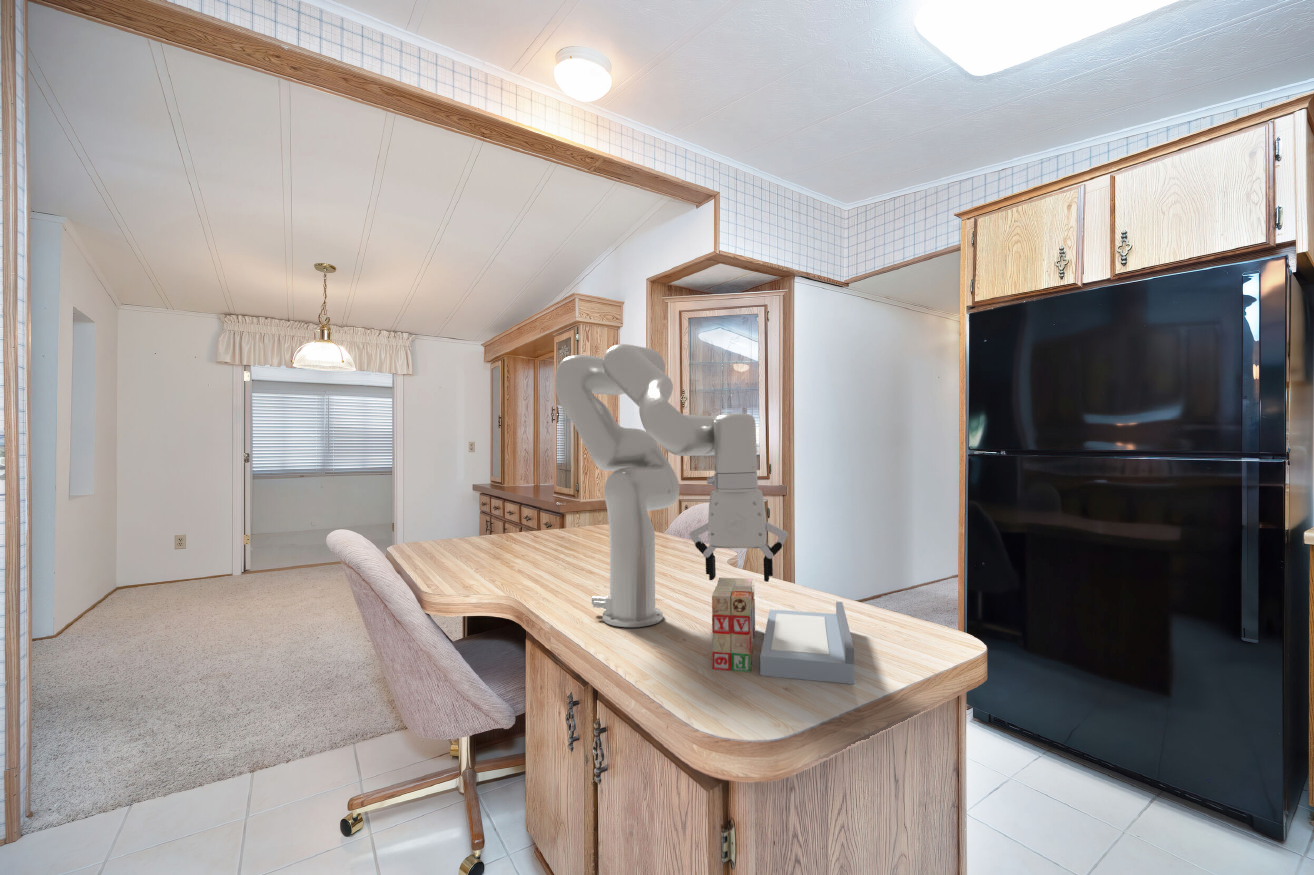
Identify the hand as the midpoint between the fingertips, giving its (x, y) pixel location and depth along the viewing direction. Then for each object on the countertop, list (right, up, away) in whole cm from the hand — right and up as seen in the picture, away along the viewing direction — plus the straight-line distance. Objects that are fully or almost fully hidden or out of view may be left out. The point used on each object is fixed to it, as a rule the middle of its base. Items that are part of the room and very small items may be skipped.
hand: (739, 579), depth 101 cm
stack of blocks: (-1, -13, +1) cm, 13 cm away
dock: (+12, -12, -1) cm, 17 cm away
